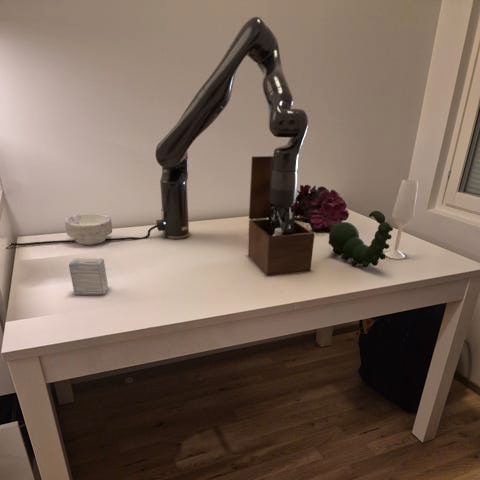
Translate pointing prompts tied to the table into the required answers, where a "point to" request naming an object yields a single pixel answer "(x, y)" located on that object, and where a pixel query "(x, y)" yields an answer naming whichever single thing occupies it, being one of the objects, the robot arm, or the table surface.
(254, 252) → the chest
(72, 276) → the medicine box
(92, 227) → the white stone bowl
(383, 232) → the toy figurine
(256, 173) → the lid
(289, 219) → the robot arm
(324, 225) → the flower arrangement
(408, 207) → the champagne flute
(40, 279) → the table surface
